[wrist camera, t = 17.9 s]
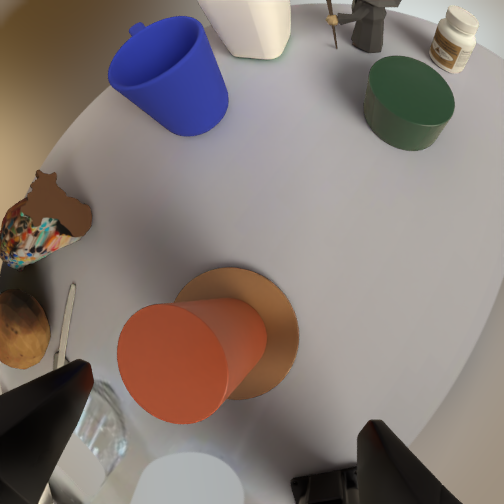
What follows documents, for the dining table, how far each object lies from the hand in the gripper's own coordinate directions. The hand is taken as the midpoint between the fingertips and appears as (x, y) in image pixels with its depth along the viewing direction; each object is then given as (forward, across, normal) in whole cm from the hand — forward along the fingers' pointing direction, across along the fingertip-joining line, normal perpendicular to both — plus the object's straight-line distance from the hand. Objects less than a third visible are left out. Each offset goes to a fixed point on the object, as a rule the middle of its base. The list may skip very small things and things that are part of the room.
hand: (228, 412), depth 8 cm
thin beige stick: (+14, +17, +17) cm, 28 cm away
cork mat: (+14, 0, +7) cm, 15 cm away
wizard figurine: (+24, -6, -21) cm, 33 cm away
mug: (+24, +10, -11) cm, 28 cm away
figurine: (+17, +20, 0) cm, 26 cm away
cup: (+26, +4, -19) cm, 33 cm away
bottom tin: (+20, -11, -14) cm, 27 cm away
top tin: (+13, +1, +7) cm, 15 cm away
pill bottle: (+23, -16, -24) cm, 37 cm away
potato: (+16, +23, +17) cm, 33 cm away
